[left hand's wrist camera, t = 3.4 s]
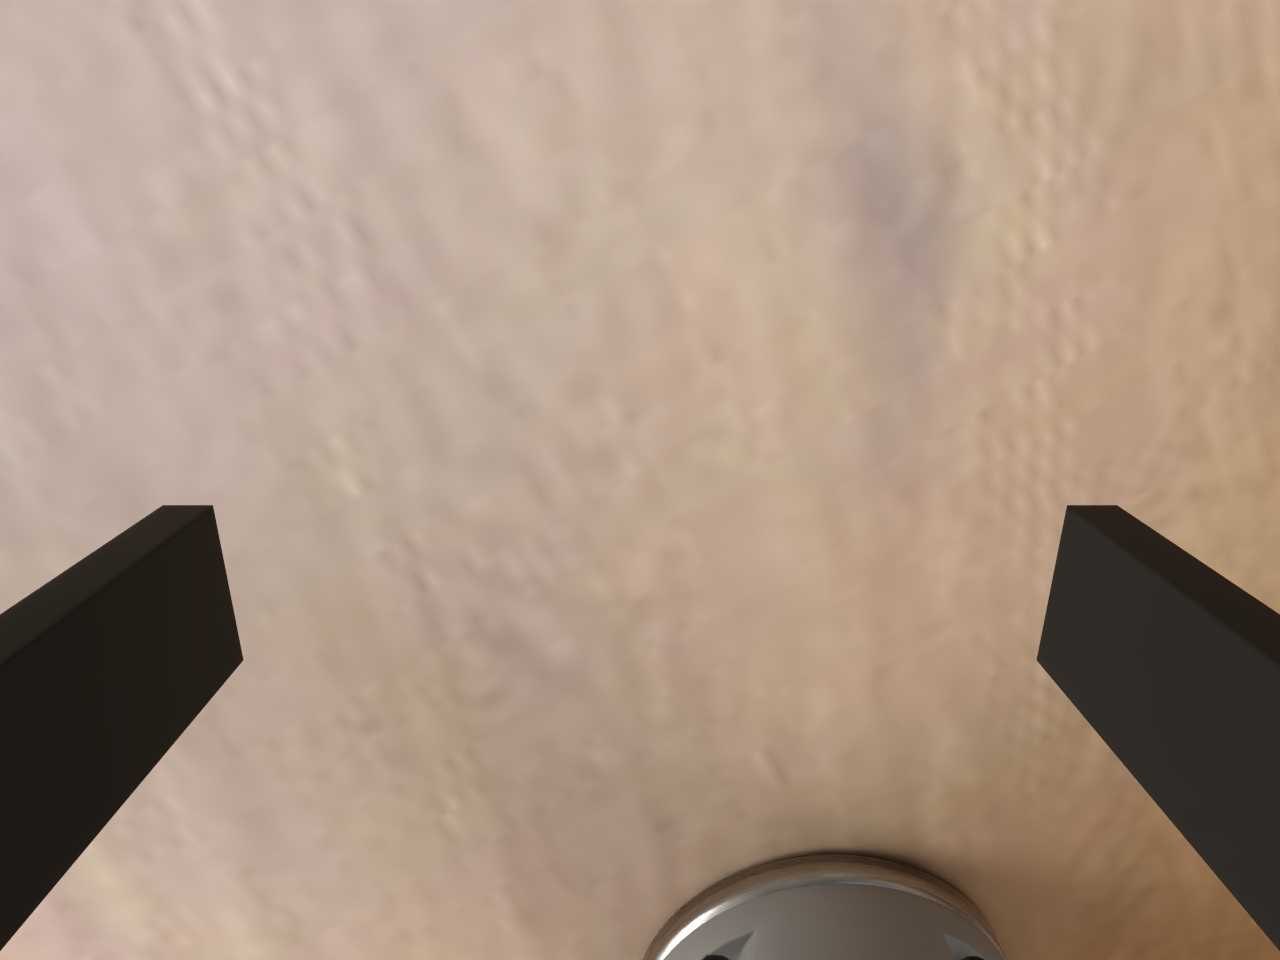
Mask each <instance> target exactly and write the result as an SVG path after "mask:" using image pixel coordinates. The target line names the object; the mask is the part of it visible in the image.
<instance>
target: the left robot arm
mask: <svg viewBox="0 0 1280 960" xmlns="http://www.w3.org/2000/svg"><path fill="white" fill-rule="evenodd" d="M242 661H243V656H242V651H241V646H240V641H239V636H238V631H237V626H236V620H235V615H234V610H233V605H232V600H231V595H230V590H229V585H228V580H227V575H226V570H225V565H224V560H223V555H222V550H221V544H220V539H219V534H218V529H217V524H216V519H215V514H214V509H213V505H163V506H161V507H160V508H158V509H157V510H155V511H154V512H152V513H151V514H149V515H148V516H146V517H145V518H143V519H142V520H140V521H139V522H138V523H136V524H135V525H133V526H132V527H130V528H129V529H127V530H126V531H124V532H123V533H121V534H120V535H118V536H117V537H115V538H114V539H112V540H111V541H109V542H108V543H106V544H105V545H103V546H102V547H100V548H99V549H97V550H96V551H94V552H93V553H91V554H90V555H88V556H87V557H85V558H84V559H82V560H81V561H79V562H78V563H76V564H75V565H73V566H72V567H70V568H69V569H67V570H66V571H64V572H63V573H61V574H60V575H59V576H57V577H56V578H54V579H53V580H51V581H50V582H48V583H47V584H45V585H44V586H42V587H41V588H39V589H38V590H36V591H35V592H33V593H32V594H30V595H29V596H27V597H26V598H24V599H23V600H21V601H20V602H18V603H17V604H15V605H14V606H12V607H11V608H9V609H8V610H6V611H5V612H3V613H2V614H0V951H1V949H2V948H3V947H4V946H5V945H6V943H7V942H8V941H9V940H10V939H11V937H12V936H13V935H14V934H15V933H16V931H17V930H18V929H19V928H20V927H21V926H22V924H23V923H24V922H25V921H26V920H27V918H28V917H29V916H30V915H31V914H32V912H33V911H34V910H35V909H36V908H37V906H38V905H39V904H40V903H41V902H42V900H43V899H44V898H45V897H46V896H47V894H48V893H49V892H50V891H51V890H52V888H53V887H54V886H55V885H56V884H57V882H58V881H59V880H60V879H61V878H62V876H63V875H64V874H65V873H66V872H67V870H68V869H69V868H70V867H71V866H72V864H73V863H74V862H75V861H76V860H77V858H78V857H79V856H80V855H81V854H82V853H83V851H84V850H85V849H86V848H87V847H88V845H89V844H90V843H91V842H92V841H93V839H94V838H95V837H96V836H97V835H98V833H99V832H100V831H101V830H102V829H103V827H104V826H105V825H106V824H107V823H108V821H109V820H110V819H111V818H112V817H113V815H114V814H115V813H116V812H117V811H118V809H119V808H120V807H121V806H122V805H123V803H124V802H125V801H126V800H127V799H128V797H129V796H130V795H131V794H132V793H133V791H134V790H135V789H136V788H137V787H138V786H139V784H140V783H141V782H142V781H143V780H144V778H145V777H146V776H147V775H148V774H149V772H150V771H151V770H152V769H153V768H154V766H155V765H156V764H157V763H158V762H159V760H160V759H161V758H162V757H163V756H164V754H165V753H166V752H167V751H168V750H169V748H170V747H171V746H172V745H173V744H174V742H175V741H176V740H177V739H178V738H179V736H180V735H181V734H182V733H183V732H184V730H185V729H186V728H187V727H188V726H189V724H190V723H191V722H192V721H193V720H194V718H195V717H196V716H197V715H198V714H199V713H200V711H201V710H202V709H203V708H204V707H205V705H206V704H207V703H208V702H209V701H210V699H211V698H212V697H213V696H214V695H215V693H216V692H217V691H218V690H219V689H220V687H221V686H222V685H223V684H224V683H225V681H226V680H227V679H228V678H229V677H230V675H231V674H232V673H233V672H234V671H235V669H236V668H237V667H238V666H239V665H240V663H241V662H242ZM1037 661H1038V662H1039V663H1040V665H1041V666H1042V667H1043V668H1044V669H1045V671H1046V672H1047V673H1048V674H1049V675H1050V677H1051V678H1052V679H1053V680H1054V681H1055V683H1056V684H1057V685H1058V686H1059V687H1060V689H1061V690H1062V691H1063V692H1064V693H1065V695H1066V696H1067V697H1068V698H1069V699H1070V701H1071V702H1072V703H1073V704H1074V705H1075V707H1076V708H1077V709H1078V710H1079V711H1080V713H1081V714H1082V715H1083V716H1084V717H1085V718H1086V720H1087V721H1088V722H1089V723H1090V724H1091V726H1092V727H1093V728H1094V729H1095V730H1096V732H1097V733H1098V734H1099V735H1100V736H1101V738H1102V739H1103V740H1104V741H1105V742H1106V744H1107V745H1108V746H1109V747H1110V748H1111V750H1112V751H1113V752H1114V753H1115V754H1116V756H1117V757H1118V758H1119V759H1120V760H1121V762H1122V763H1123V764H1124V765H1125V766H1126V768H1127V769H1128V770H1129V771H1130V772H1131V774H1132V775H1133V776H1134V777H1135V778H1136V780H1137V781H1138V782H1139V783H1140V784H1141V786H1142V787H1143V788H1144V789H1145V790H1146V791H1147V793H1148V794H1149V795H1150V796H1151V797H1152V799H1153V800H1154V801H1155V802H1156V803H1157V805H1158V806H1159V807H1160V808H1161V809H1162V811H1163V812H1164V813H1165V814H1166V815H1167V817H1168V818H1169V819H1170V820H1171V821H1172V823H1173V824H1174V825H1175V826H1176V827H1177V829H1178V830H1179V831H1180V832H1181V833H1182V835H1183V836H1184V837H1185V838H1186V839H1187V841H1188V842H1189V843H1190V844H1191V845H1192V847H1193V848H1194V849H1195V850H1196V851H1197V853H1198V854H1199V855H1200V856H1201V857H1202V859H1203V860H1204V861H1205V862H1206V863H1207V864H1208V866H1209V867H1210V868H1211V869H1212V870H1213V872H1214V873H1215V874H1216V875H1217V876H1218V878H1219V879H1220V880H1221V881H1222V882H1223V884H1224V885H1225V886H1226V887H1227V888H1228V890H1229V891H1230V892H1231V893H1232V894H1233V896H1234V897H1235V898H1236V899H1237V900H1238V902H1239V903H1240V904H1241V905H1242V906H1243V908H1244V909H1245V910H1246V911H1247V912H1248V914H1249V915H1250V916H1251V917H1252V918H1253V920H1254V921H1255V922H1256V923H1257V924H1258V926H1259V927H1260V928H1261V929H1262V930H1263V931H1264V933H1265V934H1266V935H1267V936H1268V937H1269V939H1270V940H1271V941H1272V942H1273V943H1274V945H1275V946H1276V947H1277V948H1278V949H1279V951H1280V614H1278V613H1277V612H1275V611H1274V610H1272V609H1271V608H1269V607H1268V606H1266V605H1265V604H1263V603H1262V602H1260V601H1259V600H1257V599H1256V598H1254V597H1253V596H1251V595H1250V594H1248V593H1247V592H1245V591H1244V590H1242V589H1241V588H1239V587H1238V586H1236V585H1235V584H1233V583H1232V582H1230V581H1229V580H1227V579H1226V578H1224V577H1223V576H1221V575H1220V574H1219V573H1217V572H1216V571H1214V570H1213V569H1211V568H1210V567H1208V566H1207V565H1205V564H1204V563H1202V562H1201V561H1199V560H1198V559H1196V558H1195V557H1193V556H1192V555H1190V554H1189V553H1187V552H1186V551H1184V550H1183V549H1181V548H1180V547H1178V546H1177V545H1175V544H1174V543H1172V542H1171V541H1169V540H1168V539H1166V538H1165V537H1163V536H1162V535H1160V534H1159V533H1157V532H1156V531H1154V530H1153V529H1151V528H1150V527H1148V526H1147V525H1145V524H1144V523H1142V522H1141V521H1140V520H1138V519H1137V518H1135V517H1134V516H1132V515H1131V514H1129V513H1128V512H1126V511H1125V510H1123V509H1122V508H1120V507H1119V506H1117V505H1067V509H1066V514H1065V519H1064V524H1063V529H1062V534H1061V539H1060V544H1059V550H1058V555H1057V560H1056V565H1055V570H1054V575H1053V580H1052V585H1051V590H1050V595H1049V600H1048V605H1047V610H1046V615H1045V620H1044V626H1043V631H1042V636H1041V641H1040V646H1039V651H1038V656H1037ZM643 960H1007V959H1006V957H1005V955H1004V953H1003V951H1002V949H1001V947H1000V945H999V942H998V940H997V938H996V936H995V934H994V932H993V930H992V929H991V927H990V925H989V924H988V922H987V920H986V919H985V918H984V917H983V915H982V914H981V913H980V911H979V910H978V909H977V908H976V907H975V906H974V905H973V904H972V903H971V902H970V901H969V900H968V899H967V898H966V897H964V896H963V895H962V894H961V893H959V892H958V891H957V890H956V889H954V888H953V887H951V886H949V885H948V884H946V883H945V882H943V881H942V880H940V879H938V878H936V877H934V876H932V875H930V874H928V873H926V872H923V871H920V870H918V869H915V868H913V867H910V866H907V865H904V864H900V863H897V862H893V861H889V860H884V859H879V858H874V857H866V856H858V855H840V854H829V855H811V856H802V857H794V858H789V859H783V860H778V861H774V862H770V863H767V864H763V865H759V866H756V867H753V868H750V869H747V870H745V871H742V872H739V873H737V874H735V875H733V876H730V877H728V878H726V879H724V880H722V881H720V882H718V883H716V884H714V885H713V886H711V887H709V888H707V889H706V890H704V891H703V892H701V893H700V894H698V895H697V896H695V897H694V898H692V899H691V900H690V901H689V902H687V903H686V904H685V905H684V906H682V907H681V908H680V909H679V910H678V911H677V912H676V913H675V914H674V915H673V916H672V917H671V918H670V919H669V920H668V921H667V922H666V923H665V925H664V926H663V927H662V928H661V930H660V931H659V932H658V934H657V935H656V937H655V938H654V940H653V941H652V943H651V944H650V946H649V948H648V950H647V952H646V954H645V956H644V959H643Z"/></svg>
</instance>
